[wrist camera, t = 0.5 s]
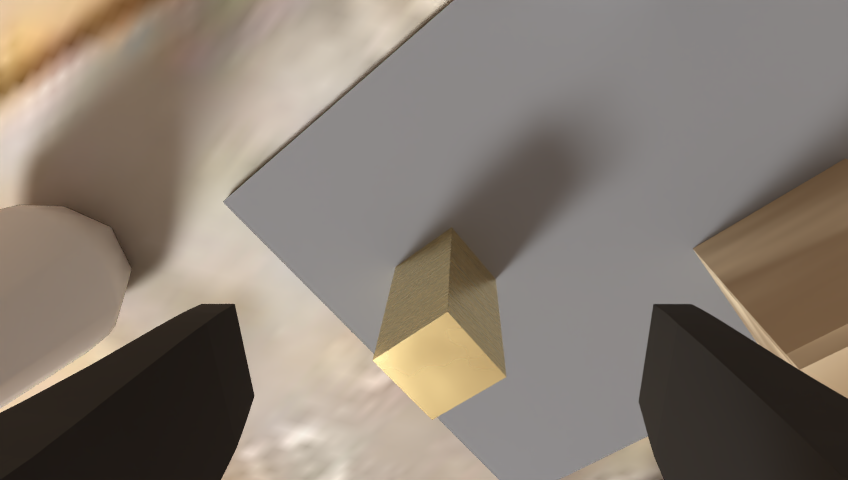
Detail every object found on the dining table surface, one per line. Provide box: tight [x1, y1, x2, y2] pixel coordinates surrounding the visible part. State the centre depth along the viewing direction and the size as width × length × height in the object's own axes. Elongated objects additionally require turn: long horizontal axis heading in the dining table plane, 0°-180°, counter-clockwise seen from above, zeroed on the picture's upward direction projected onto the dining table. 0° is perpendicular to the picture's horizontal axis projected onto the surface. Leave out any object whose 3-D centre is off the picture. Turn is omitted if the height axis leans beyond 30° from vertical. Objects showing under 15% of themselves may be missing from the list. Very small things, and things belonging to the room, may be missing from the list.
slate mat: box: [223, 0, 848, 480], centre depth 19 cm, size 18×21×1 cm
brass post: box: [373, 227, 506, 420], centre depth 17 cm, size 3×3×6 cm
